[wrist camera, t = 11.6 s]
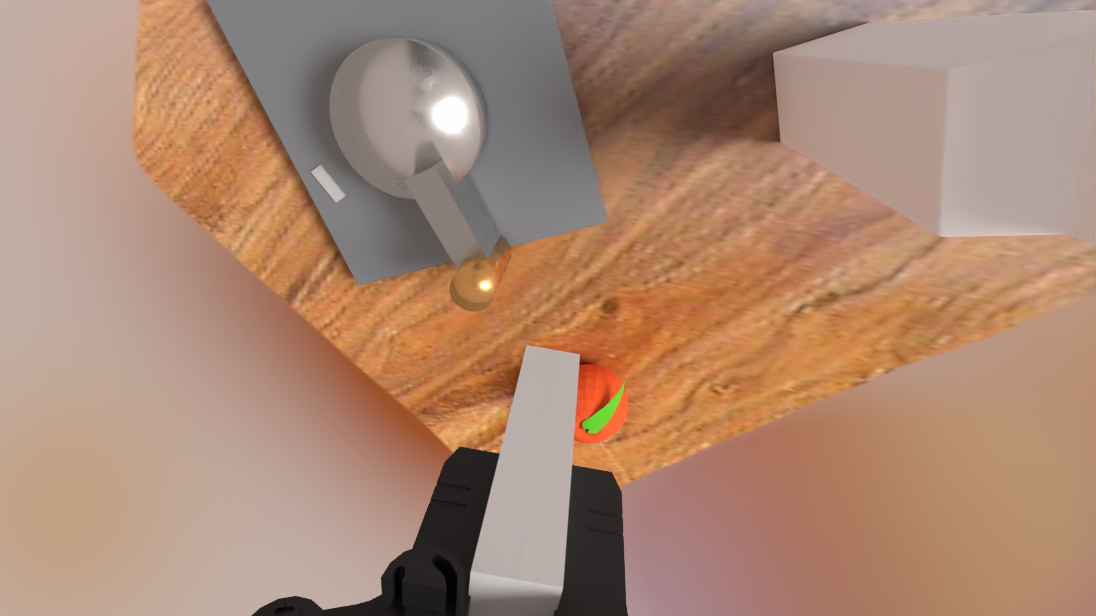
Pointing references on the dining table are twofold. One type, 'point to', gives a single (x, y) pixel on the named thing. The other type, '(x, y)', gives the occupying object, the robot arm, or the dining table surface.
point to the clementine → (598, 404)
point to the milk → (954, 119)
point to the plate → (509, 91)
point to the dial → (423, 148)
